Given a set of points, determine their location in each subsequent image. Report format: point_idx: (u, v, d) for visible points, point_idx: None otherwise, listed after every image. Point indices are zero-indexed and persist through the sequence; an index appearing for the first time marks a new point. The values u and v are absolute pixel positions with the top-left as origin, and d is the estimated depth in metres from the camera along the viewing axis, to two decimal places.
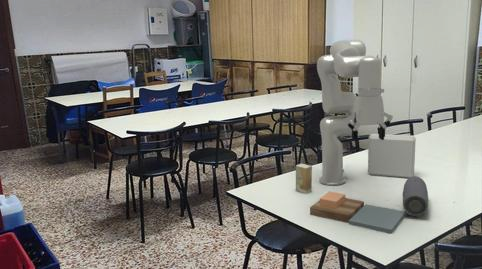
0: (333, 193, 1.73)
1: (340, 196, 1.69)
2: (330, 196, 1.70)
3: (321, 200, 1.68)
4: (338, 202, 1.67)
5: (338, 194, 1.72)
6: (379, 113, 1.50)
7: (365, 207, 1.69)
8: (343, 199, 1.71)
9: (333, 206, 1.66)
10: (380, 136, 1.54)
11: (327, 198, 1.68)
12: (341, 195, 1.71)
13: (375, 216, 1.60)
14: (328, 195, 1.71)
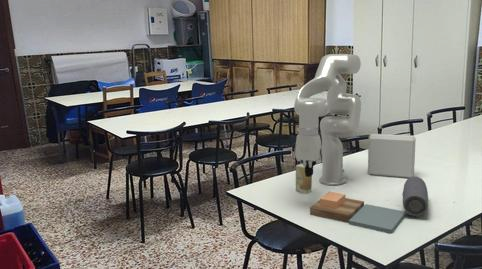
0: (333, 193, 1.73)
1: (340, 196, 1.69)
2: (330, 196, 1.70)
3: (321, 200, 1.68)
4: (338, 202, 1.67)
5: (338, 194, 1.72)
6: None
7: (365, 207, 1.69)
8: (343, 199, 1.71)
9: (333, 206, 1.66)
10: None
11: (327, 198, 1.68)
12: (341, 195, 1.71)
13: (375, 216, 1.60)
14: (328, 195, 1.71)
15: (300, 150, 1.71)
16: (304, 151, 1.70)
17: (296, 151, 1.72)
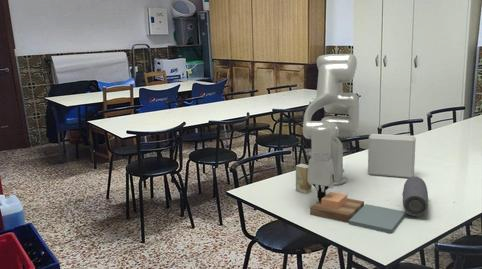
0: (335, 193, 1.73)
1: (342, 197, 1.69)
2: (332, 196, 1.70)
3: (323, 200, 1.68)
4: (340, 202, 1.66)
5: (340, 194, 1.71)
6: None
7: (365, 207, 1.69)
8: (345, 199, 1.70)
9: (335, 206, 1.65)
10: None
11: (329, 198, 1.68)
12: (343, 195, 1.70)
13: (375, 216, 1.60)
14: (330, 196, 1.71)
15: (312, 175, 1.70)
16: (317, 176, 1.69)
17: (308, 175, 1.72)
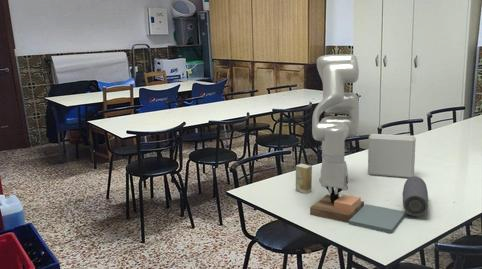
0: (348, 196, 1.69)
1: (355, 200, 1.65)
2: (345, 199, 1.66)
3: (335, 203, 1.65)
4: (353, 205, 1.63)
5: (353, 197, 1.68)
6: None
7: (365, 207, 1.69)
8: (358, 202, 1.67)
9: (348, 209, 1.62)
10: None
11: (342, 201, 1.64)
12: (356, 198, 1.67)
13: (375, 216, 1.60)
14: (343, 198, 1.67)
15: (326, 177, 1.67)
16: (330, 178, 1.66)
17: (321, 177, 1.68)
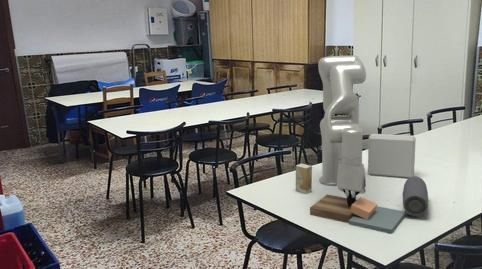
0: (365, 200, 1.65)
1: (372, 206, 1.62)
2: (362, 204, 1.62)
3: (353, 207, 1.60)
4: (370, 213, 1.59)
5: (370, 203, 1.64)
6: None
7: None
8: (374, 209, 1.63)
9: (364, 216, 1.58)
10: None
11: (359, 206, 1.60)
12: (373, 205, 1.63)
13: (375, 216, 1.60)
14: (360, 203, 1.63)
15: (343, 179, 1.63)
16: (347, 181, 1.62)
17: (338, 180, 1.64)
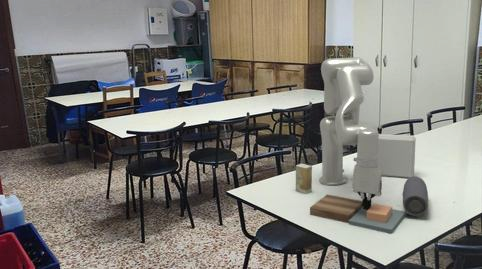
0: (379, 205, 1.63)
1: (388, 209, 1.59)
2: (377, 209, 1.60)
3: (368, 213, 1.57)
4: (387, 215, 1.56)
5: (385, 206, 1.61)
6: None
7: None
8: (390, 212, 1.60)
9: (382, 220, 1.55)
10: None
11: (375, 211, 1.58)
12: (388, 208, 1.60)
13: None
14: (375, 208, 1.60)
15: (358, 182, 1.59)
16: (363, 183, 1.58)
17: (353, 183, 1.61)
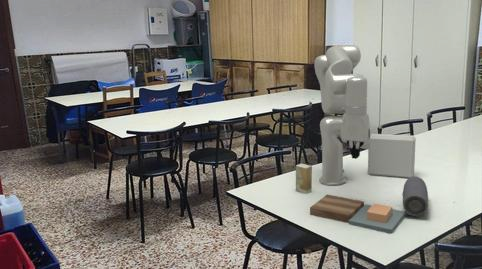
0: (379, 205, 1.63)
1: (388, 209, 1.59)
2: (377, 209, 1.59)
3: (368, 213, 1.57)
4: (387, 215, 1.56)
5: (385, 206, 1.61)
6: None
7: (365, 207, 1.69)
8: (391, 212, 1.60)
9: (382, 220, 1.55)
10: None
11: (375, 211, 1.57)
12: (388, 208, 1.60)
13: None
14: (375, 208, 1.60)
15: (347, 130, 1.59)
16: (351, 131, 1.58)
17: (342, 131, 1.61)
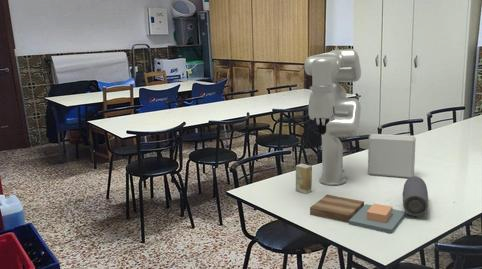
0: (379, 205, 1.63)
1: (388, 209, 1.59)
2: (377, 209, 1.59)
3: (368, 213, 1.57)
4: (387, 215, 1.56)
5: (385, 206, 1.61)
6: None
7: (365, 207, 1.69)
8: (391, 212, 1.60)
9: (382, 220, 1.55)
10: None
11: (375, 211, 1.57)
12: (388, 208, 1.60)
13: None
14: (375, 208, 1.60)
15: (313, 108, 1.73)
16: (317, 109, 1.72)
17: (309, 109, 1.74)
